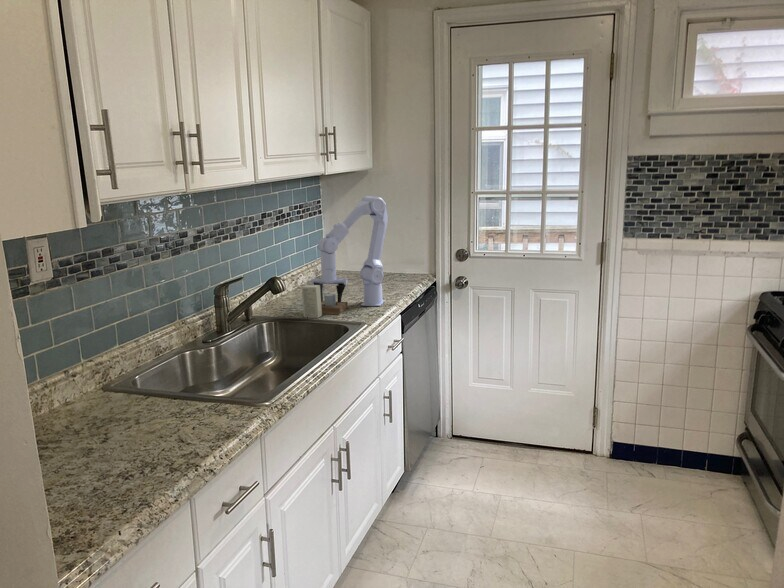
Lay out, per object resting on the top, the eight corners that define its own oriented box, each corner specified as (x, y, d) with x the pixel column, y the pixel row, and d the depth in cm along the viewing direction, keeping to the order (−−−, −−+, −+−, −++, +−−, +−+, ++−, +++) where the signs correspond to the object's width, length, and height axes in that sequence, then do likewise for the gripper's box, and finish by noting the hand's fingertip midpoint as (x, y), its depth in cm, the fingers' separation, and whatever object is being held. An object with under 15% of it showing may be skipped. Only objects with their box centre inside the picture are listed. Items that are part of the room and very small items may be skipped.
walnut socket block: (322, 307, 263) (321, 301, 263) (347, 307, 261) (347, 301, 260) (312, 313, 253) (312, 307, 252) (339, 314, 251) (339, 308, 250)
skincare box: (322, 315, 250) (320, 284, 247) (318, 318, 245) (316, 287, 243) (307, 314, 251) (305, 284, 249) (302, 317, 247) (301, 286, 245)
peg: (327, 308, 259) (327, 294, 258) (336, 308, 258) (335, 294, 257) (325, 310, 256) (324, 295, 254) (333, 310, 255) (332, 296, 254)
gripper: (307, 269, 251) (309, 303, 254) (343, 270, 248) (344, 304, 251) (313, 266, 258) (315, 299, 261) (348, 267, 255) (349, 300, 258)
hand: (330, 301), depth 256 cm, fingers open, 7 cm apart
